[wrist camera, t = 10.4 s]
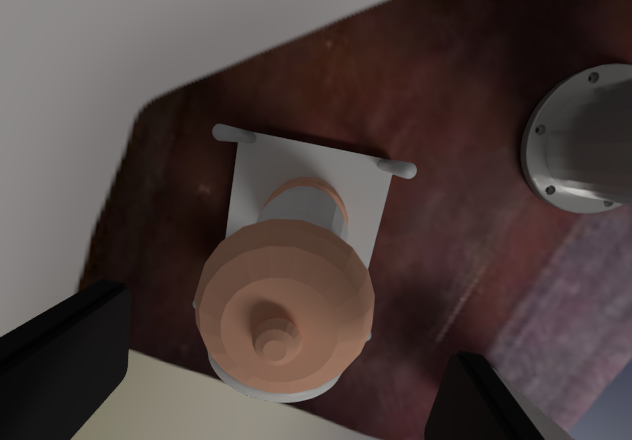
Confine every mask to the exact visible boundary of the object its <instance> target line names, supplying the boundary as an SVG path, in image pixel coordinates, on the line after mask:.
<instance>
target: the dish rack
mask: <svg viewBox="0 0 632 440" xmlns="http://www.w3.org/2000/svg"><path fill="white" fill-rule="evenodd" d="M212 133H213V136H214V138H215V139H217V140H219V141H230V142H238V148H237V155H236V163H235V170H234V178H233V185H232V193H231V200H230V208H229V215H228V223H227V230H226V238H227V237H229V236H230V235H232V234H233V233H235V232H236V231H238V230H239V229H241V228H242V227H244V226H247V225H251V224H255V223H257V220H258V217H259V214H260V213H261V212H262V210H263V208H264V205H265V203H266V201H267V200H268V199H269V197H270V196H271V195H272V193H273V192H274V191H275V190H276V189H278V188H279V187H280V186H281V185H283V184H284V183H286V182H287V181H289V180H292V179H295V178H299V177H314V178H317V179H320V180H322V181H325V182H327V183H328V184H329V185H330V186H332V187H333V188H334V189H335V190H336V191H337V193H338V194H339V196H340V197H341V199H342V201H343V203H344V205H345V209H346V213H347V216H348V244H349V245H350V246H351V247H353V249H354V250H355V252H356V253H357V255H358V256H359V258H360V259H361V261H362V262H363V264H364V265H365V267H366V268H367V269H368V267H369V263H370V259H371V255H372V251H373V247H374V243H375V239H376V236H377V232H378V228H379V224H380V220H381V216H382V212H383V208H384V204H385V201H386V197H387V193H388V189H389V185H390V181H391V177H392V174H394V175H397V176H400V177H403V178H406V179H410V178H412V177H414V176H415V174H416V172H417V169H416V166H415V165H414V164H412V163H408V162H402V161H395V160H388V159H382V158H378V157H373V156H368V155H363V154H358V153H353V152H348V151H343V150H339V149H334V148H329V147H324V146H319V145H314V144H309V143H304V142H299V141H295V140H290V139H285V138H280V137H275V136H270V135H265V134H260V133H256V132H251V131H247V130H243V129H239V128H235V127H231V126H227V125H223V124H217V125H215V126H214V127H213V130H212ZM226 238H225V239H226ZM193 306H194V308H195V300H194V301H193ZM370 338H371V331H370V334H369V336H368V338H367V340H366V341H368V340H369V339H370ZM208 356H209V360H210V363H211V366H212V367H213V369H214V371H215V372H216V373H217V375H218V376H219V377H220V378H221V379H222V380H223V381H224V382H225V383H226V384H228V385H229V386H231V387H232V388H234V389H235V390H237V391H239V392H241V393H243V394H245V395H247V396H250V397H253V398H256V399H261V400H264V401H271V402H298V401H303V400H307V399H310V398H313V397H316V396H318V395H320V394H322V393H324V392H325V391H327V390H328V389H330V388H331V387H332V386H333V385H334V384H335V383H336V382H337V380H338V378H339V377H340V375H341V374H339V375H338V376H337V377H335V378H334V379H332V380H330V381H328V382H326V383H325V384H323V385H321V386H319V387H317V388H315V389H311V390H306V391H302V392H297V393H293V394H291V393H269V392H265V391H262V390H259V389H256V388H253V387H249V386H246V385H244V384H243V383H241V382H240V381H238V380H236V379H235V378H233V377H232V376H230V375H229V374H227V373H226V372H224V370H223V369H222V368H221V367H220V366H219V365H218V363H217V362H216V361H215V360H214V359H213V358H212V356H211V355H210V354H209V352H208Z"/></svg>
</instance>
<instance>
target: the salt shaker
mask: <svg viewBox="0 0 632 440" xmlns="http://www.w3.org/2000/svg"><path fill="white" fill-rule="evenodd" d="M374 298H375V295H374V291H373V287H372V283H371V280H370V276H369V272H368V269H367V268H366V267H365V265H364V264H363V262H362V261H361V259H360V258H359V256H358V255H357V253H356V252H355V250H354V249H353V247H351V246H350V245H349V244H348V216H347V213H346V209H345V205H344V203H343V201H342V199H341V197H340V196H339V194H338V193H337V191H336V190H335V189H334V188H333V187H332V186H330V185H329V184H328V183H327V182H325V181H322V180H320V179H317V178H314V177H299V178H295V179H292V180H289V181H287V182H286V183H284V184H283V185H281V186H280V187H279V188H278V189H276V190H275V191H274V192H273V193H272V195H271V196H270V197H269V199H268V200H267V201H266V203H265V205H264V208H263V210H262V212H261V213H260V214H259V217H258V220H257V223H255V224H251V225H247V226H244V227H242V228H241V229H239V230H238V231H236V232H235V233H233V234H232V235H230V236H229V237H227V238H226V239H225V240H223V241H222V242H220V244H219V245H218V246H217V248H216V249H215V250H214V252H213V253H212V254H211V256H210V257H209V258H208V260H207V261H206V263H205V264H204V268H203V271H202V274H201V278H200V281H199V285H198V288H197V291H196V295H195V312H196V324H197V326H198V329H199V331H200V333H201V336H202V338H203V341H204V343H205V345H206V348H207V350H208V352H209V354H210V355H211V356H212V358H213V359H214V360H215V361H216V362H217V363H218V365H219V366H220V367H221V368H222V369H223V370H224V372H226V373H227V374H229V375H230V376H232V377H233V378H235V379H236V380H238V381H240V382H241V383H243V384H244V385H246V386H249V387H253V388H256V389H259V390H262V391H265V392H269V393H291V394H293V393H297V392H302V391H306V390H311V389H315V388H317V387H319V386H321V385H323V384H325V383H326V382H328V381H330V380H332V379H334V378H335V377H337V376H338V375H339V374H341V373H342V372H343V371H344V370H345V369H346V368H347V367H348V366H349V365H350V364H351V363H352V361H353V360H354V359H355V358H356V357H357V356H358V355H359V354H360V353H361V351H362V349H363V346H364V344H365V342H366V340H367V338H368V336H369V334H370V331H371V327H372V321H373V310H374Z"/></svg>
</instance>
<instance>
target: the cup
mask: <svg viewBox="0 0 632 440" xmlns="http://www.w3.org/2000/svg"><path fill="white" fill-rule="evenodd" d="M493 370H494V371H495V373H496V374H497V375H498V377H499V378H500V379H501V381H502V382H503V383H504V385H505V386H506V387H507V389H508V390H509V391H510V393H511V394H512V396H513V397H514V398H515V400H516V401H517V402H518V404H519V405H520V406H521V408H522V409H523V410H524V412H525V413H526V414H527V416H528V417H529V419H530V420H531V421H532V423H533V424H534V425H535V427H536V428H537V429H538V431H539V432H540V433H541V435H542V436H543V437H544V439H545V440H574V439H573V438H572V437H571V436H570V435H569V434H568V433H567V432H565V431H564V430H563V429H562V428H561V427H560V426H559V425H558V424H556V423H555V422H554V421H553V420H552V419H551V418H549V417H548V416H547V415H546V414H545V413H544V412H543V411H542V410H540V409H539V408H538V407H537V406H536V405H535V404H534V403H533V402H531V401H530V400H529V399H528V398H527V397H526V396H525V395H524V394H523V393H522V392H520V391H519V390H518V389H517V388H516V387H515V386H514V385H512V384H511V383H510V382H509V381H508V380H507V379H506V378H505V377H504V376H503V375H502V374H500V373H499V372H498V371H497V370H496V369H494V368H493Z"/></svg>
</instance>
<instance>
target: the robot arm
mask: <svg viewBox="0 0 632 440" xmlns="http://www.w3.org/2000/svg"><path fill="white" fill-rule="evenodd" d="M535 129H536V131H535ZM521 165H522V170H523V174H524V176H525V178H526V181H527V183H528V185H529V186H530V188H531V189H532V190H533V192H534V193H535V194H536V195H537V196H538V197H539V198H540V199H541V200H543V201H544V202H546V203H548V204H549V205H551V206H553V207H555V208H559V209H562V210H565V211H570V212H575V213H597V212H603V211H607V210H610V209H613V208H616V207H619V206H621V205H623V204H627V205H632V65H629V64H620V63H616V64H606V65H600V66H597V67H593V68H589V69H586V70H584V71H581V72H579V73H576V74H573V75H571V76H570V77H568V78H567V79H565V80H563V81H562V82H560V83H559V84H557V85H556V86H555V87H554V88H553V89H552V90H550V91H549V92H548V93H547V94H546V95H545V96H544V98H543V99H542V100H541V101H540V102H539V103H538V105H537V106H536V108H535V109H534V111H533V113H532V114H531V116H530V118H529V120H528V122H527V125H526V127H525V130H524V133H523V138H522V142H521ZM130 313H131V291H130V290H129V289H127V286H126V284H125V283H122V282H117V281H112V280H108V279H101V280H99V281H97V282H95V283H94V284H92V285H90V286H88V287H87V288H85V289H83V290H81V291H80V292H78V293H76V294H74V295H73V296H71V297H69V298H68V299H66V300H64V301H62V302H61V303H59V304H57V305H55V306H54V307H52V308H50V309H48V310H47V311H45V312H43V313H42V314H40V315H38V316H36V317H35V318H33V319H31V320H29V321H28V322H26V323H24V324H23V325H21V326H19V327H17V328H16V329H14V330H12V331H10V332H9V333H7V334H5V335H3V336H2V337H0V440H70V439H71V438H72V437H73V436H74V435H75V434H76V433H77V431H78V430H79V429H80V428H81V427H82V426H83V425H84V424H85V422H86V421H87V420H88V419H89V418H90V417H91V416H92V415H93V413H94V412H95V411H96V410H97V409H98V408H99V407H100V405H101V404H102V403H103V402H104V401H105V400H106V399H107V397H108V396H109V395H110V394H111V393H112V392H113V391H114V390H115V389H116V387H117V386H118V385H119V384H120V383H121V382H122V380H123V378H124V377H125V375H126V372H127V368H128V351H129V332H130ZM424 437H425V440H545V439H544V437H543V436H542V435H541V433H540V432H539V431H538V429H537V428H536V427H535V425H534V424H533V423H532V421H531V420H530V419H529V417H528V416H527V414H526V413H525V412H524V410H523V409H522V408H521V406H520V405H519V404H518V402H517V401H516V400H515V398H514V397H513V396H512V394H511V393H510V391H509V390H508V389H507V387H506V386H505V385H504V383H503V382H502V381H501V379H500V378H499V377H498V375H497V374H496V373H495V371H494V370H493V368H492V367H491V366H490V364H489V363H488V362H487V360H486V359H485V358H484V357H483V356H482V355H480V354H475V353H470V352H465V351H459V352H458V353H457V354H456V355H452V356H451V357H450V360H449V362H448V365H447V368H446V371H445V373H444V376H443V379H442V382H441V385H440V387H439V390H438V393H437V396H436V398H435V401H434V404H433V407H432V410H431V412H430V415H429V418H428V421H427V423H426V426H425V432H424Z"/></svg>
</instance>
